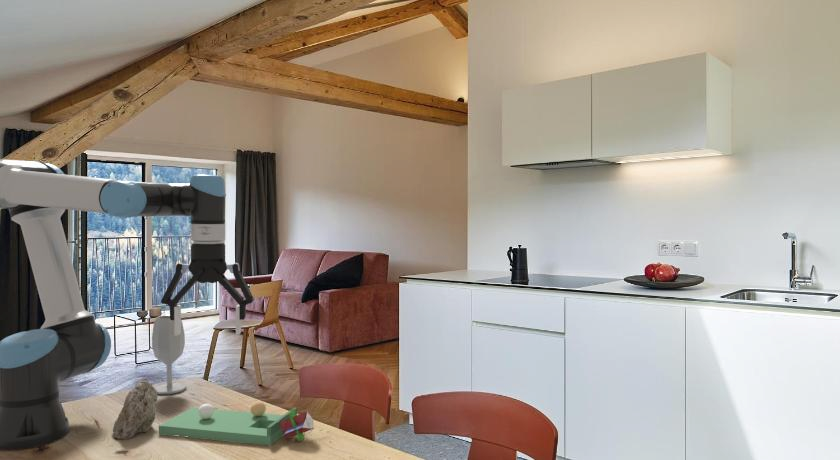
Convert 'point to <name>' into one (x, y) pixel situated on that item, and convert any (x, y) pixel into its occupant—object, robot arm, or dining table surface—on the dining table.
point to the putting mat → (227, 426)
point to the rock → (136, 411)
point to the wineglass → (167, 350)
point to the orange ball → (258, 408)
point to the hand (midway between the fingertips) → (208, 334)
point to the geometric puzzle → (297, 425)
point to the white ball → (206, 411)
